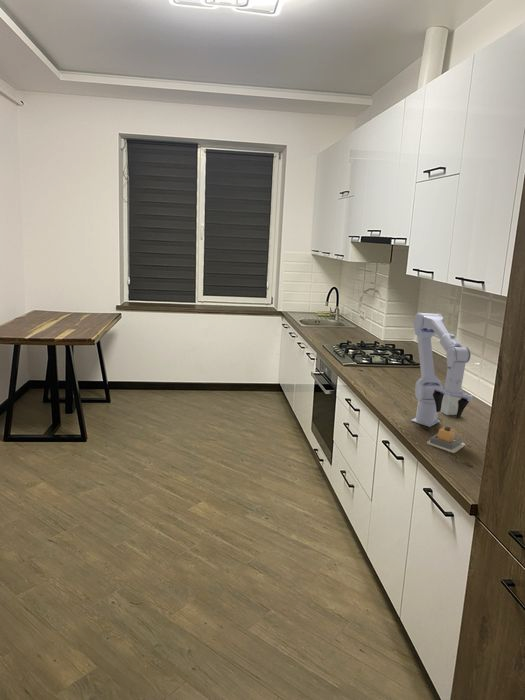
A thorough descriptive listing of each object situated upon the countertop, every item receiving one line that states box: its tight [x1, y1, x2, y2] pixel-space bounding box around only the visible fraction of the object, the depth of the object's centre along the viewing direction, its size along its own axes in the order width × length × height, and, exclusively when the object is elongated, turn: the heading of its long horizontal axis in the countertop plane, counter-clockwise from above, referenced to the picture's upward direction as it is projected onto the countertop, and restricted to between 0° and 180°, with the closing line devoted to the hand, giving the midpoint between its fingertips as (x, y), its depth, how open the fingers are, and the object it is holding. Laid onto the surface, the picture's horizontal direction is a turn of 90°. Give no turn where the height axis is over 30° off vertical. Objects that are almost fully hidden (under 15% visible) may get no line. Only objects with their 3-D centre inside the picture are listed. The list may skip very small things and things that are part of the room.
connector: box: [437, 426, 456, 443], centre depth 183 cm, size 7×4×6 cm, turn 138°
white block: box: [440, 386, 463, 416], centre depth 218 cm, size 6×4×12 cm
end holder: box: [426, 433, 466, 454], centre depth 183 cm, size 10×10×3 cm
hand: (448, 414), depth 189 cm, fingers open, 7 cm apart
